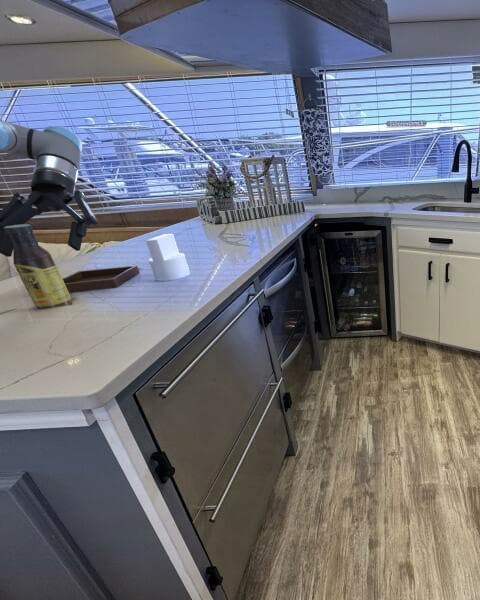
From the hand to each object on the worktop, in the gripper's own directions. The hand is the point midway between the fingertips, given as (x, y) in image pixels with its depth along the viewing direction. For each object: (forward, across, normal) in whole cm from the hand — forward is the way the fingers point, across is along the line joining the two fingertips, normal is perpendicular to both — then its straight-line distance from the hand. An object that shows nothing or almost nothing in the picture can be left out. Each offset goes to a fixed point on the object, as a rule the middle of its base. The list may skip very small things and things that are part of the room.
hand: (39, 250), depth 75 cm
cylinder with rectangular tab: (-1, -19, -20) cm, 28 cm away
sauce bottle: (+12, 0, -8) cm, 14 cm away
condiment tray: (-2, +1, -21) cm, 21 cm away
